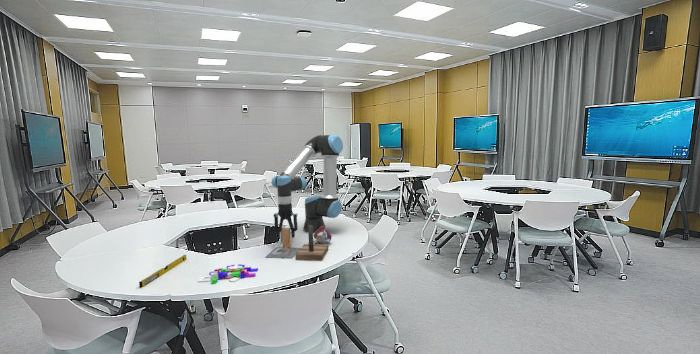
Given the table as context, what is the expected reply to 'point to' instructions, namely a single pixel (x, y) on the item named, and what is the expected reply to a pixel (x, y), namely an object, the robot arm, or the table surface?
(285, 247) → the square frame with handle
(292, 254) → the rubber mat
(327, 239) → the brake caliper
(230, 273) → the building block set
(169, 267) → the spirit level
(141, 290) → the table surface
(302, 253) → the wooden peg stand
